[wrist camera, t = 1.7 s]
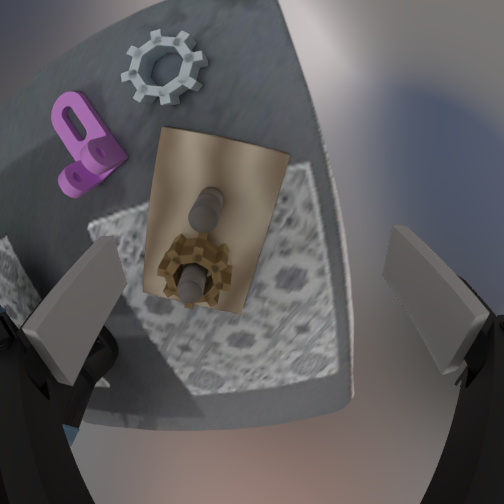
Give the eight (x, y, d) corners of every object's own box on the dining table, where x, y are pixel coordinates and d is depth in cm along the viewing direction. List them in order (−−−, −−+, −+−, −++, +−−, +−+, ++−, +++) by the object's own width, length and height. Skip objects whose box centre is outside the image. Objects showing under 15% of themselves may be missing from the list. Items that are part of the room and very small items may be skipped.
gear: (130, 101, 26) (114, 100, 22) (146, 37, 22) (133, 28, 18) (196, 109, 27) (189, 109, 23) (215, 43, 23) (210, 33, 19)
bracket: (129, 157, 29) (101, 169, 23) (99, 184, 30) (70, 202, 24) (77, 83, 24) (44, 81, 18) (51, 113, 25) (17, 118, 19)
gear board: (146, 286, 37) (125, 327, 30) (166, 126, 27) (136, 132, 20) (241, 307, 39) (239, 353, 31) (288, 153, 29) (303, 168, 21)
